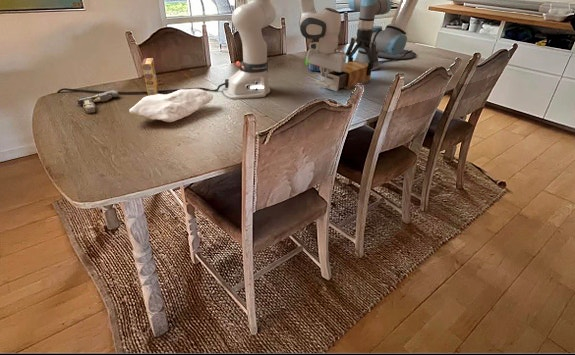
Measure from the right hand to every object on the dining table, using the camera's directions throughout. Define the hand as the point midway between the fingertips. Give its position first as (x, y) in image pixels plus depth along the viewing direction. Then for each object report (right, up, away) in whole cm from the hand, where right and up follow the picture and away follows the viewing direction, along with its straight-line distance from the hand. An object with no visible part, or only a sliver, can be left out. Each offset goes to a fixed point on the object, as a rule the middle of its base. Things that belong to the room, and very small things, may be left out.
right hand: (358, 72), depth 194 cm
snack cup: (-22, +6, +16) cm, 27 cm away
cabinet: (-5, -6, -2) cm, 8 cm away
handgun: (-118, -25, -38) cm, 127 cm away
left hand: (-21, -8, -19) cm, 29 cm away
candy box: (-100, -18, -27) cm, 105 cm away
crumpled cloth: (-86, -30, -45) cm, 101 cm away
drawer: (-14, -10, -10) cm, 20 cm away
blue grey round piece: (+32, +29, +56) cm, 71 cm away
